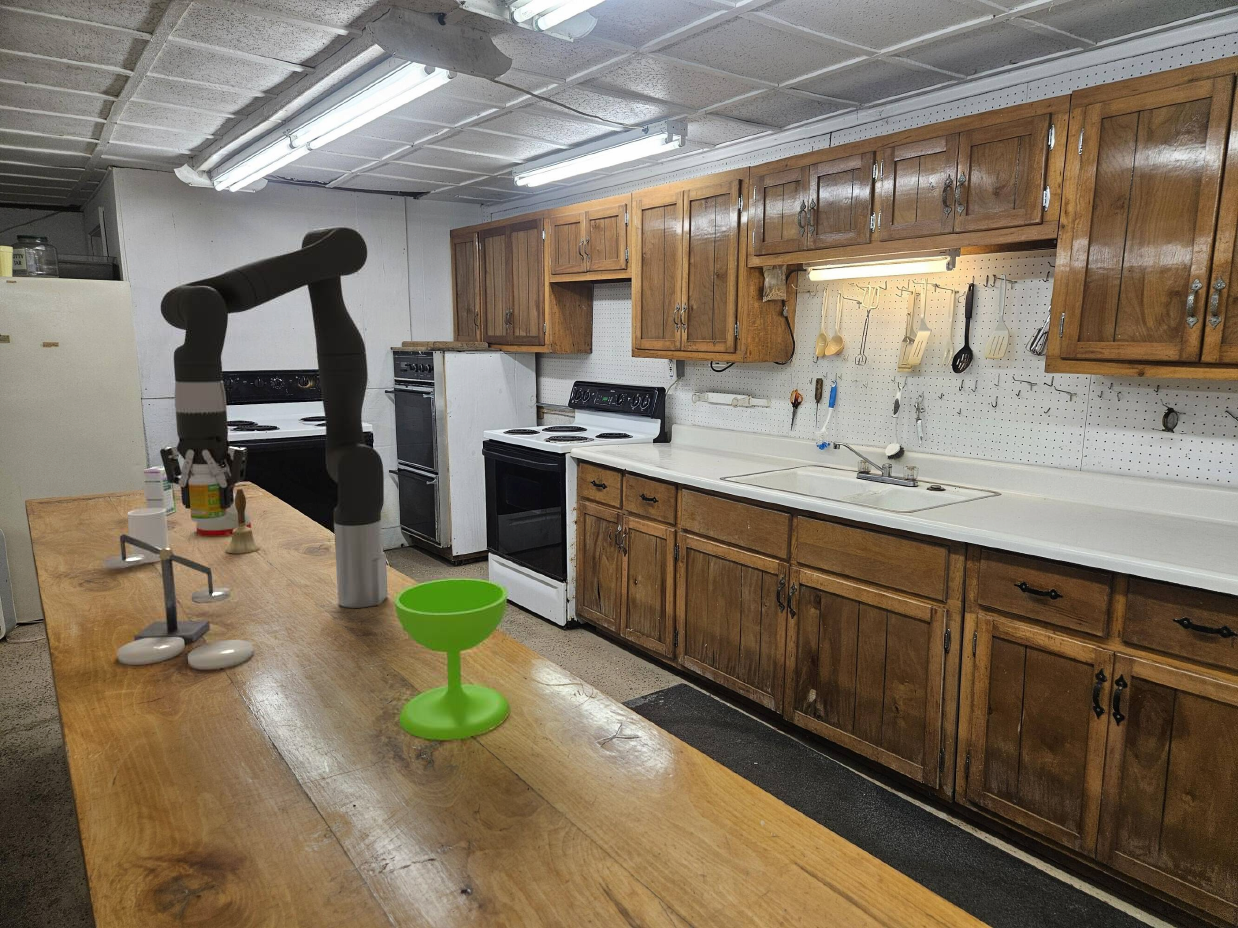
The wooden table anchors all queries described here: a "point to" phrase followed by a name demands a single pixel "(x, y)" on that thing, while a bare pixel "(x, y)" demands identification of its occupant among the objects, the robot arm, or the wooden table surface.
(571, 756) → the wooden table surface
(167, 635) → the balance
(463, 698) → the wineglass
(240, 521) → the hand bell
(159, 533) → the mug
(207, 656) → the dish low side
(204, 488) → the supplement bottle
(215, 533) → the white chicken dome
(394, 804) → the wooden table surface
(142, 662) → the dish high side
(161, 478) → the syrup box
